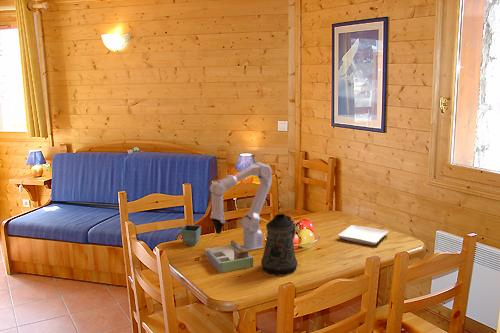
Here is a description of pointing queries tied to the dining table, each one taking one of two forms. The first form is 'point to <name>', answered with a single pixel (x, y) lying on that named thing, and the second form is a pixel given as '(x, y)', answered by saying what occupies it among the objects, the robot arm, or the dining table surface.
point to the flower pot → (190, 234)
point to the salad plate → (362, 234)
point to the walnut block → (240, 253)
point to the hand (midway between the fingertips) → (218, 233)
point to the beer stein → (279, 247)
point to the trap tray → (227, 258)
